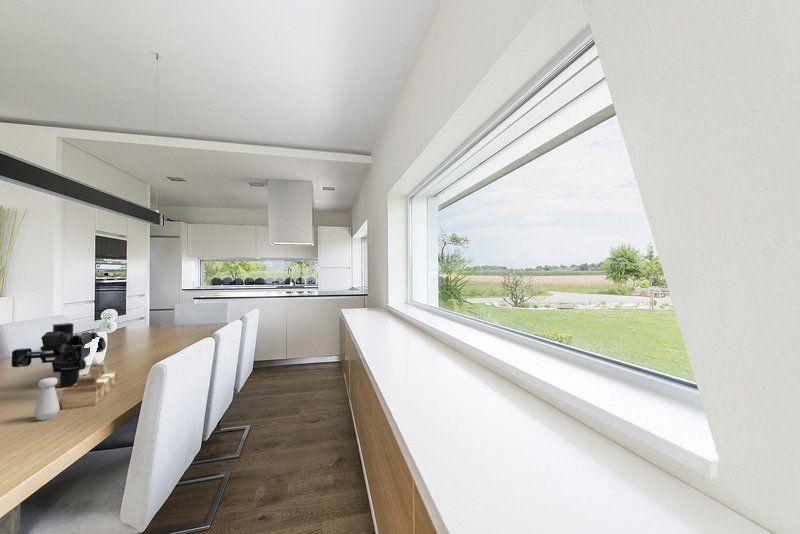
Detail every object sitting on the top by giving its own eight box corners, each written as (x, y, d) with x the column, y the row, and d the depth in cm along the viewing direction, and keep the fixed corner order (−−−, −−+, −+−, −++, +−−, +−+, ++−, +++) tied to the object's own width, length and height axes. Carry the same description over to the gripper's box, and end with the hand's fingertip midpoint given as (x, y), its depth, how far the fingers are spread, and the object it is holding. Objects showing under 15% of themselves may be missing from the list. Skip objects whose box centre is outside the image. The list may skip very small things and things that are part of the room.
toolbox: (88, 388, 131) (88, 371, 131) (116, 385, 135) (117, 369, 135) (61, 409, 112) (62, 390, 112) (95, 405, 116) (96, 386, 116)
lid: (89, 378, 131) (89, 363, 131) (116, 375, 135) (116, 361, 135) (69, 393, 116) (70, 376, 116) (100, 389, 120) (101, 373, 120)
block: (79, 384, 119) (79, 378, 119) (96, 382, 121) (96, 376, 121) (76, 386, 117) (76, 380, 117) (94, 384, 119) (94, 378, 119)
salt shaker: (41, 423, 102) (43, 382, 102) (28, 420, 103) (29, 380, 103) (64, 414, 108) (65, 376, 108) (51, 413, 109) (52, 375, 109)
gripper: (26, 332, 122) (-2, 340, 108) (91, 329, 130) (73, 336, 116) (25, 361, 122) (-3, 373, 108) (90, 356, 130) (72, 367, 116)
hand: (36, 361), depth 112 cm, fingers open, 9 cm apart
